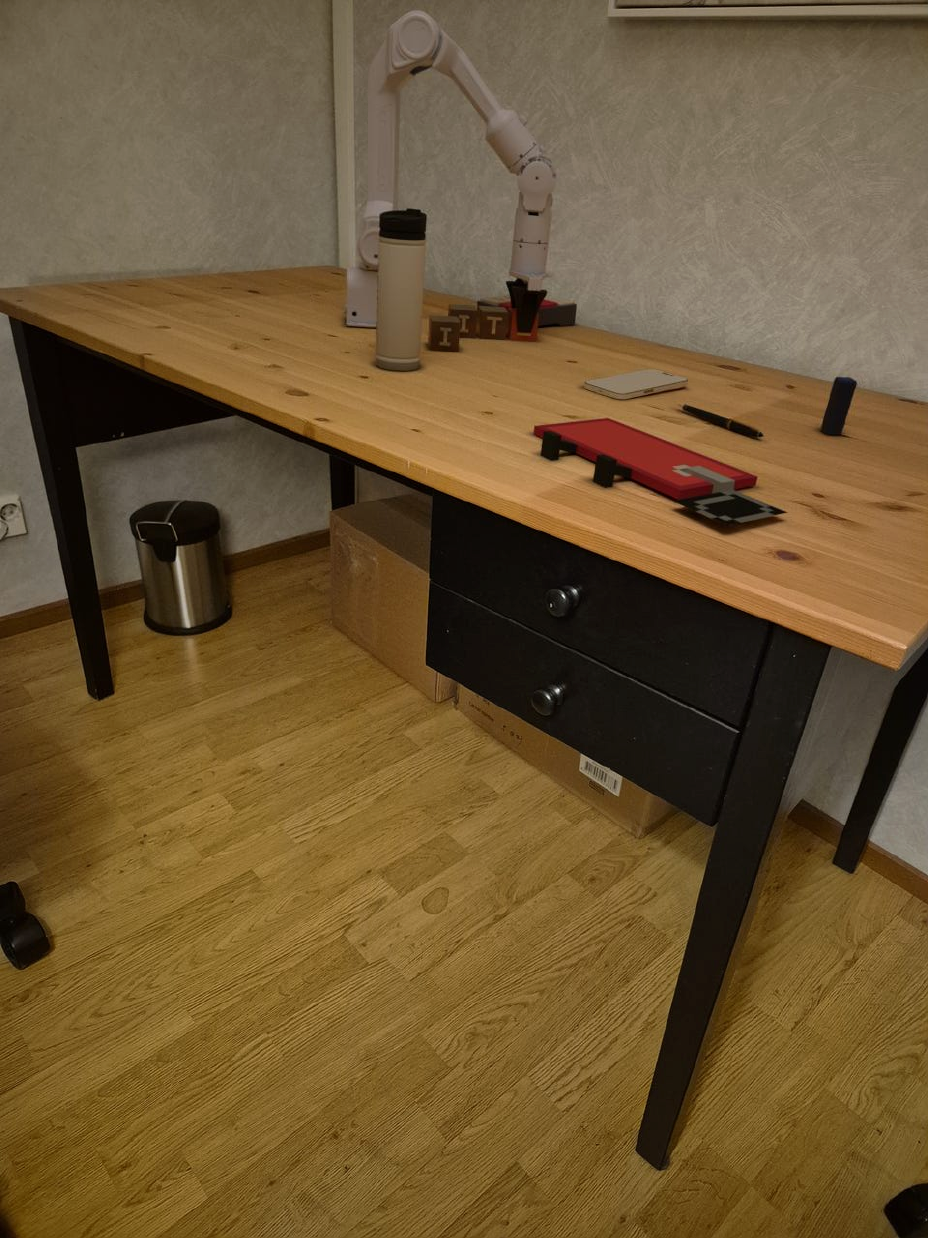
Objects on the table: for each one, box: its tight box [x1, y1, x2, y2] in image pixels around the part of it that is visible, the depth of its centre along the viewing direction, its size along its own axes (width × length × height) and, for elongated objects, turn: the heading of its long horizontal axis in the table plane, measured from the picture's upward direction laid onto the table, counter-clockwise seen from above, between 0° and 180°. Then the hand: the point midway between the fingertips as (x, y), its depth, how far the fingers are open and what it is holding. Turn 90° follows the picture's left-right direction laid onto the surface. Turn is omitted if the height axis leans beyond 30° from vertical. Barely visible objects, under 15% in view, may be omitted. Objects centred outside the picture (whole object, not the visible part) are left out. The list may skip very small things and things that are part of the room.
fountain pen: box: [676, 403, 764, 439], centre depth 107 cm, size 14×1×2 cm, turn 34°
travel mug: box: [374, 207, 428, 372], centre depth 117 cm, size 6×7×20 cm
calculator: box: [476, 294, 578, 327], centre depth 157 cm, size 11×4×15 cm
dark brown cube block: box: [447, 303, 478, 339], centre depth 143 cm, size 4×4×4 cm
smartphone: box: [583, 368, 689, 400], centre depth 120 cm, size 7×1×15 cm
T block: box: [476, 306, 508, 341], centre depth 143 cm, size 4×4×4 cm
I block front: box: [427, 314, 461, 353], centre depth 133 cm, size 4×4×4 cm
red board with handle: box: [533, 417, 788, 527], centre depth 89 cm, size 30×3×15 cm
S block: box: [506, 308, 539, 343], centre depth 144 cm, size 4×4×4 cm
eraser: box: [820, 376, 858, 437], centre depth 106 cm, size 2×2×7 cm
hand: (521, 329), depth 144 cm, fingers closed on S block, 4 cm apart
